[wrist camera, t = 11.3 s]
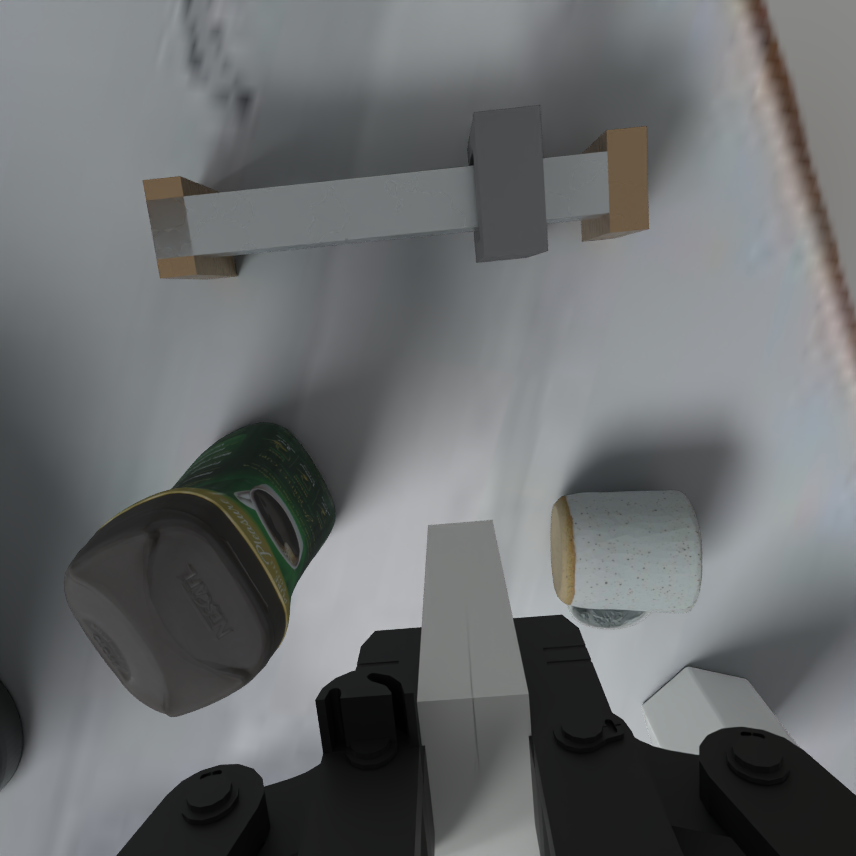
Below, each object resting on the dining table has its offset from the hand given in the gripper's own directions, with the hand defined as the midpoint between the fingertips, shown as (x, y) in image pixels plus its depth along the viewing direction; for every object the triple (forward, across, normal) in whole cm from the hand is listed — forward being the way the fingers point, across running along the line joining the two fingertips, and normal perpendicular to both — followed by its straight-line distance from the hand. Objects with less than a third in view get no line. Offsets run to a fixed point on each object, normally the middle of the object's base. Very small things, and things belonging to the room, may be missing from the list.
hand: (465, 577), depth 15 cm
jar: (+29, +16, -26) cm, 42 cm away
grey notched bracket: (+26, +4, +11) cm, 29 cm away
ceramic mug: (+29, +10, -12) cm, 33 cm away
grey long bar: (+28, -2, +11) cm, 31 cm away
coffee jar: (+29, -13, -6) cm, 32 cm away
